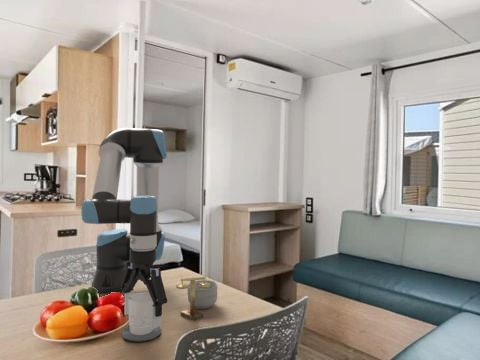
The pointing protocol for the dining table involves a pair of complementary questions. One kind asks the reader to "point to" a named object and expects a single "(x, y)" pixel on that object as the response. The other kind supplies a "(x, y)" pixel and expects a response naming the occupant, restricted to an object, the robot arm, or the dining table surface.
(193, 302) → the balance
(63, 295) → the dining table surface
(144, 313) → the white cup
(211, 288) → the teacup
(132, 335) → the dish
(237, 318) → the dining table surface
